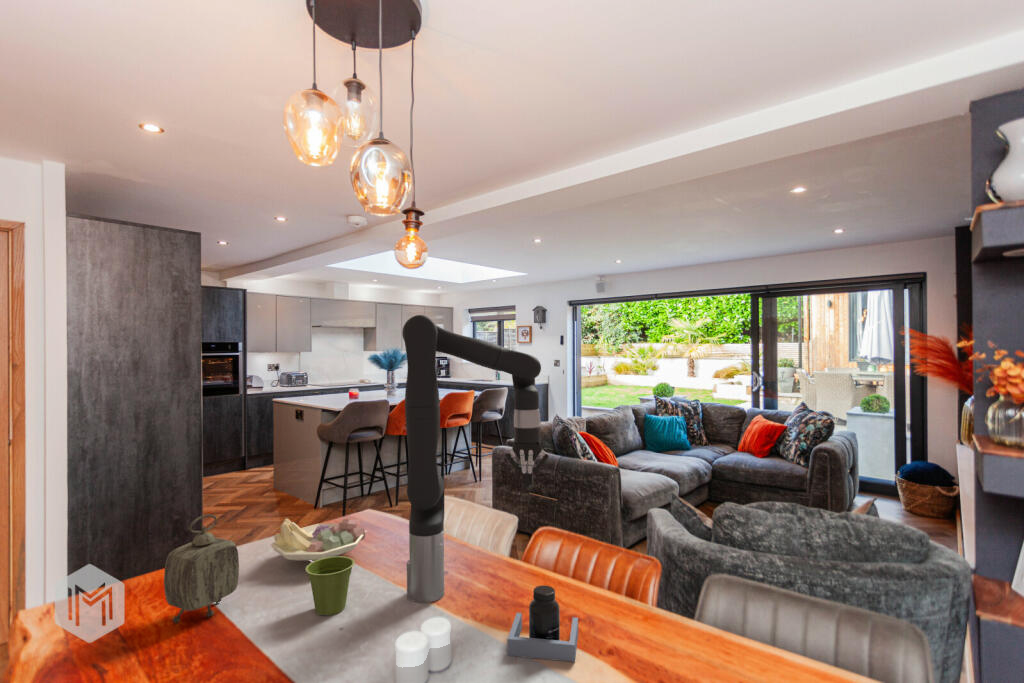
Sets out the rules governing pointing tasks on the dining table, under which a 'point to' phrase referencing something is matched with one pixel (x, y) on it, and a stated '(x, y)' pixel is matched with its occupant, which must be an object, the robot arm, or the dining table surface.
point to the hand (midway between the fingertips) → (527, 486)
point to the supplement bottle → (544, 614)
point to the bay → (542, 644)
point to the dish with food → (317, 540)
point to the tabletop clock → (201, 571)
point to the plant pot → (330, 583)
